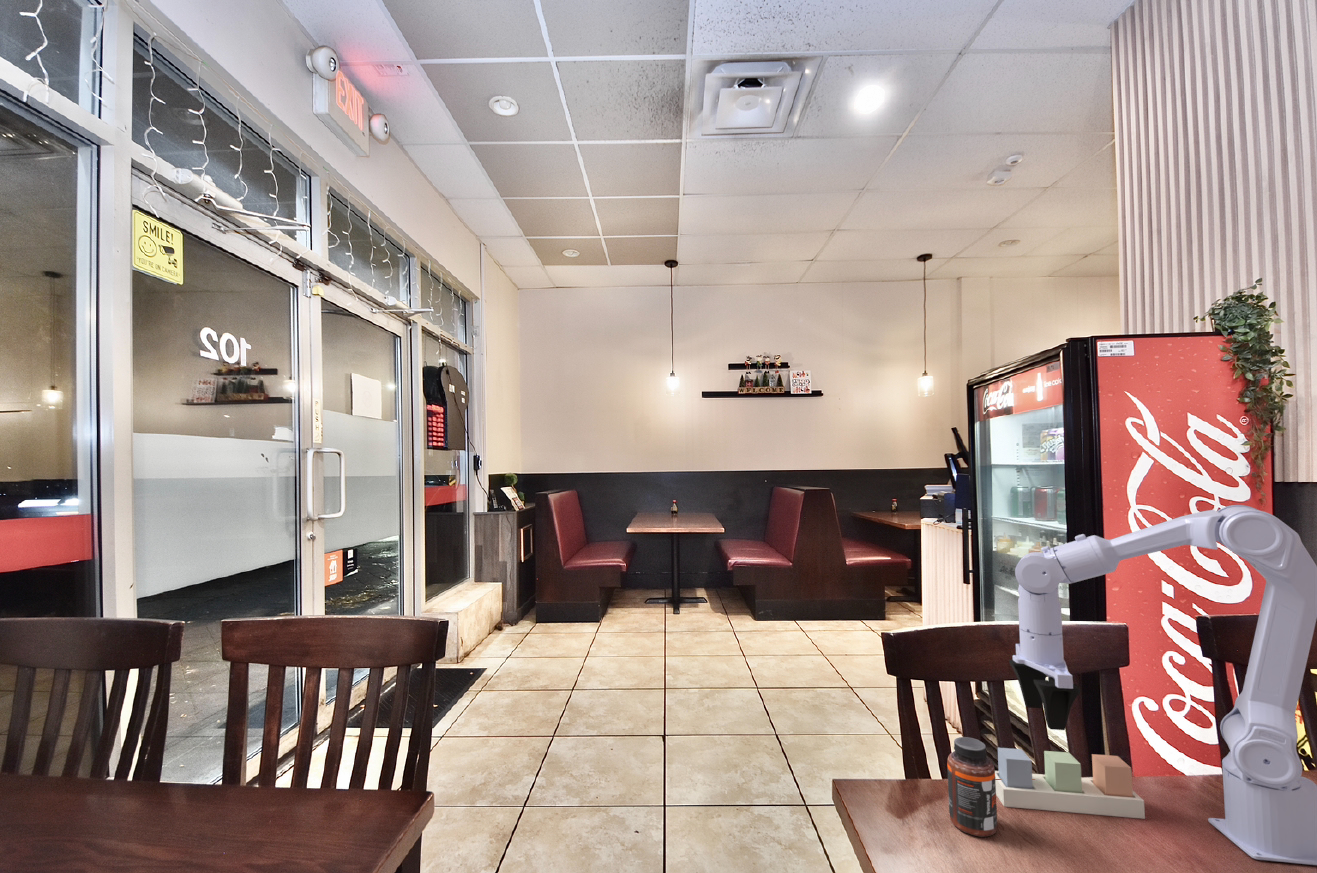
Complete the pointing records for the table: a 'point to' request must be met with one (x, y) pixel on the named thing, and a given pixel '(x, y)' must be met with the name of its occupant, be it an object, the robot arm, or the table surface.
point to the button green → (1062, 772)
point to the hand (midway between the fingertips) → (1044, 717)
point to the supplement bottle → (972, 788)
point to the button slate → (1015, 768)
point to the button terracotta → (1112, 775)
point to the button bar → (1069, 799)
